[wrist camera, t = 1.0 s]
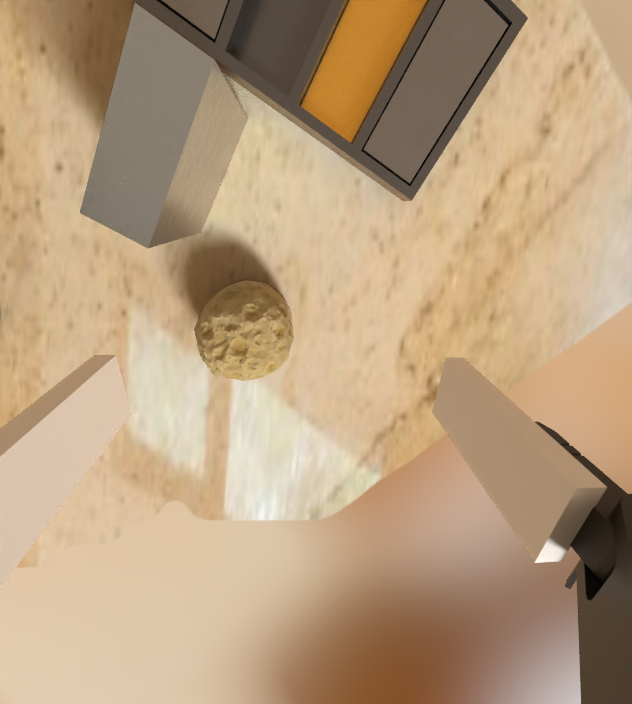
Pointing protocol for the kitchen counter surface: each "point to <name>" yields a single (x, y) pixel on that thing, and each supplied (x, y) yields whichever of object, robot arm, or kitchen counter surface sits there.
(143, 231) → the panel
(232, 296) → the decorative item
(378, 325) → the kitchen counter surface
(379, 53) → the rack
